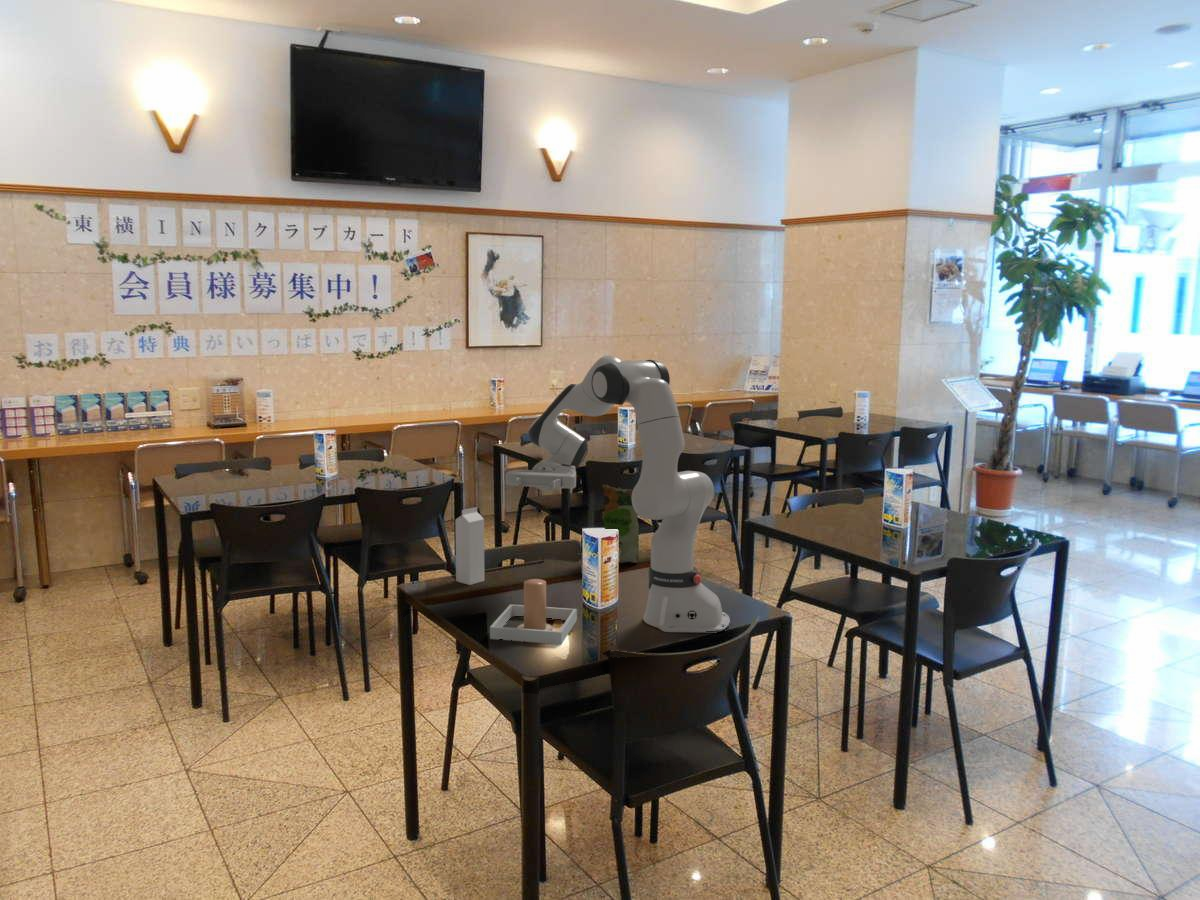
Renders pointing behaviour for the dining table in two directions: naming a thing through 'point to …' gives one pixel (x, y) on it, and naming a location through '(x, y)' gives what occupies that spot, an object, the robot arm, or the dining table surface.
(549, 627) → the coaster
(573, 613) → the white square frame
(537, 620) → the canister
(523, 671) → the dining table surface
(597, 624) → the dining table surface
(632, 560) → the pouch
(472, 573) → the milk
